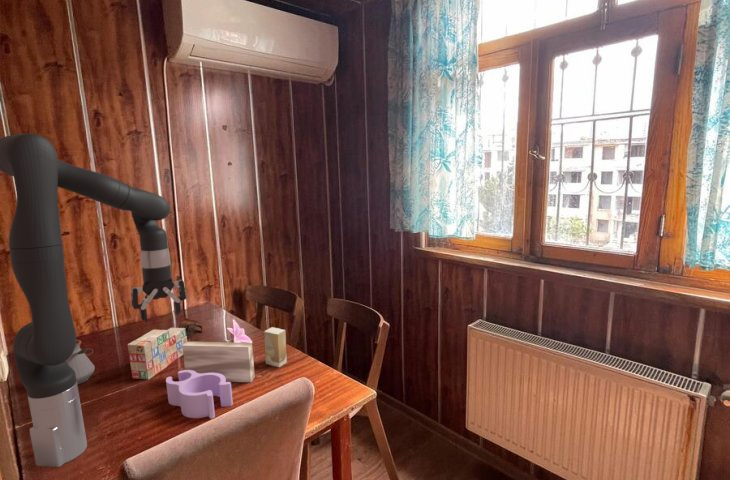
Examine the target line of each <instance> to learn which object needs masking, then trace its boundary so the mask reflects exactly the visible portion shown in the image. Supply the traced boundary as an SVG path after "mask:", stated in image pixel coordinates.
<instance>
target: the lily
mask: <svg viewBox="0 0 730 480" xmlns="http://www.w3.org/2000/svg"><path fill="white" fill-rule="evenodd" d="M232 323H233V328H231V327H226V329H227V330H228V331H229V332H230V333H231V334H232V335H233V339H232V340H231V342H233V343H252V344H253V340H252V339H251V338H250V337H249V336H247V335H246V334H245V329H244V328H241V327H240V326H239V323H237V322H236V320H235V319H232Z"/></svg>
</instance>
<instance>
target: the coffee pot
mask: <svg viewBox="0 0 730 480" xmlns="http://www.w3.org/2000/svg"><path fill="white" fill-rule="evenodd" d="M81 344H82V341H81V340H80V339H76V346H75V349H74V352H73V353H72V355H71V356H70V357H69V358H68V359H67V360H66V362H67V364H68V365H69V366H70V367H71V368H72V369H73V370H74V371H75V374H76V380H77V386H78V385H80V384H82V383H85V382H86V381H88V379H90V377H91V376H92V375H93V374H94V372H95V365H94V363H93V362H92V361H91V360H90V358H89V357H88V355H87V354H86V353H87V352H89V351H90V348H89V347H85V348H83V349H82V348H81V347H80V346H81ZM91 350H92V352H91V353H90V355H91V354H93V352H94V350H93V349H91Z"/></svg>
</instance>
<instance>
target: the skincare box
mask: <svg viewBox="0 0 730 480" xmlns="http://www.w3.org/2000/svg"><path fill="white" fill-rule="evenodd" d="M286 334H287V333H286V329H281V328H279V327H274V326H272V327H269V328H267V329H266V330H264V333H263V335H264V351H265V352H264V353H265V364H266V365H269V366H272V367H277V368H281V367H282V366H283V365H285V364H287V362H288V359H287V358H288V357H287V355H288V354H287V336H286Z"/></svg>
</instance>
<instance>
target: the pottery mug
mask: <svg viewBox="0 0 730 480" xmlns="http://www.w3.org/2000/svg"><path fill="white" fill-rule="evenodd" d="M196 327H198V328H199V329H200V333H203V321H200V320H198V319H194V318H188V317H184V320H182V321H181V322H180V323H179V326H178V328H185V329H186V336H187V338H190V337H193V335H194V332H195V329H196Z"/></svg>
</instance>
